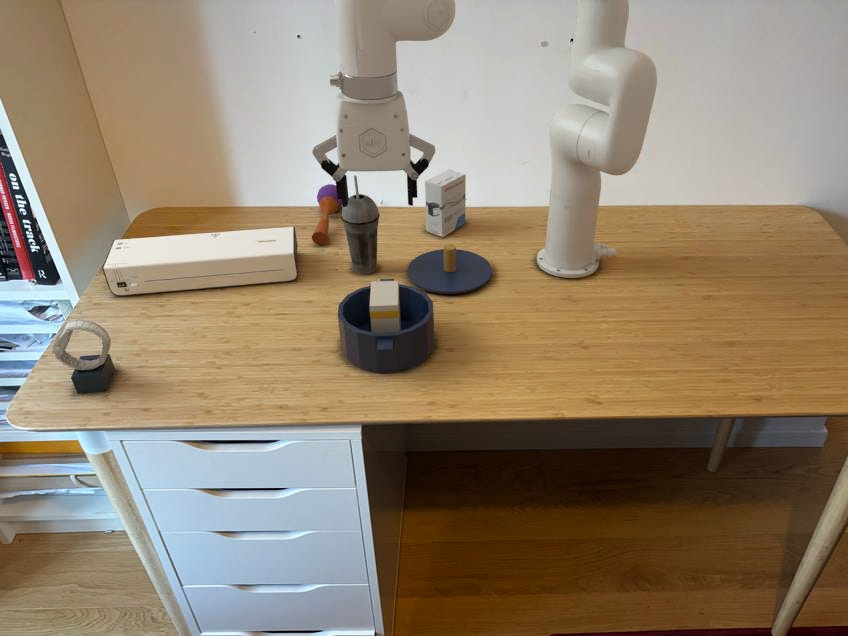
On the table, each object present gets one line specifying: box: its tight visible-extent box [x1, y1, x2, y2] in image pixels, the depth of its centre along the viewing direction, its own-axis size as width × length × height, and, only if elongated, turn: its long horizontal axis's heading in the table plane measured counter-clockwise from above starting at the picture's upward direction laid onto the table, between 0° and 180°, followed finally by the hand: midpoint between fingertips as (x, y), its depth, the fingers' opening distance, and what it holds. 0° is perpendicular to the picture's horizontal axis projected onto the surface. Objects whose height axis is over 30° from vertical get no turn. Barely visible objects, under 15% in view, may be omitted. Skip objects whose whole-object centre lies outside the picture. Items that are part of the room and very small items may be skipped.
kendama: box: [311, 183, 343, 246], centre depth 156 cm, size 6×6×20 cm
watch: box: [51, 319, 116, 394], centre depth 110 cm, size 6×8×11 cm
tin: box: [337, 278, 435, 374], centre depth 120 cm, size 16×21×8 cm
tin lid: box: [406, 243, 493, 295], centre depth 139 cm, size 17×17×6 cm
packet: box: [370, 280, 401, 333], centre depth 119 cm, size 5×8×10 cm, turn 5°
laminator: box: [101, 226, 299, 297], centre depth 137 cm, size 34×12×6 cm, turn 102°
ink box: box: [424, 169, 467, 238], centre depth 154 cm, size 8×5×12 cm, turn 144°
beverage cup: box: [340, 175, 380, 275], centre depth 136 cm, size 7×7×20 cm
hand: (378, 202), depth 106 cm, fingers open, 9 cm apart
